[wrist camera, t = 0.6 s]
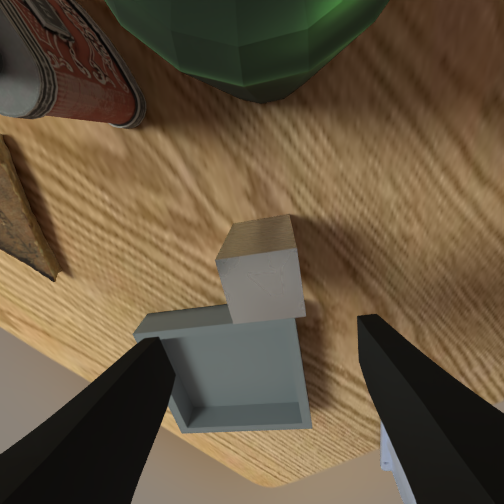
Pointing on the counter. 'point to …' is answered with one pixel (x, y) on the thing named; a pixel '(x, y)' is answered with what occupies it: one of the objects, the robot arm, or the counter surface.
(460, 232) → the counter surface
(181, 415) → the tray
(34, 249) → the shard
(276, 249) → the aluminium block
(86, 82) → the lighter
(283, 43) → the potion bottle
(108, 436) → the robot arm
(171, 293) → the counter surface
